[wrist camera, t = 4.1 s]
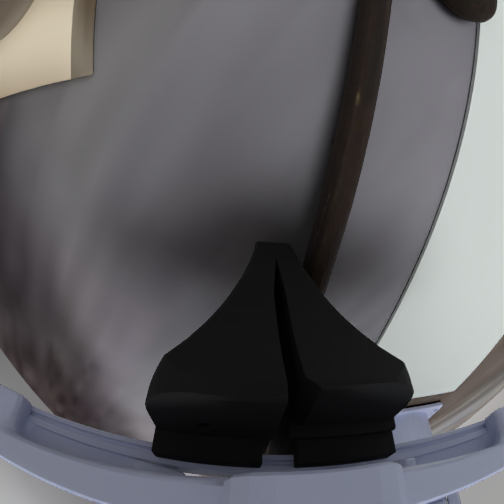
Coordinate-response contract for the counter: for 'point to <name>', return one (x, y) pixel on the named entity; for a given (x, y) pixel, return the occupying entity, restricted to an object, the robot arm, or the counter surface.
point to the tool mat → (461, 244)
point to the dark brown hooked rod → (360, 128)
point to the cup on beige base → (44, 42)
